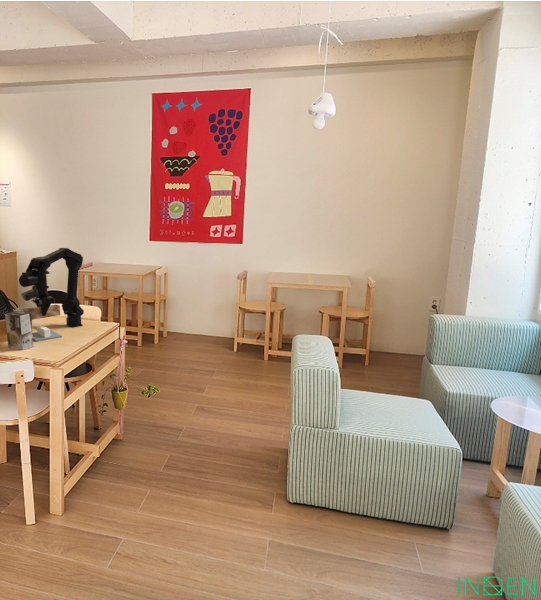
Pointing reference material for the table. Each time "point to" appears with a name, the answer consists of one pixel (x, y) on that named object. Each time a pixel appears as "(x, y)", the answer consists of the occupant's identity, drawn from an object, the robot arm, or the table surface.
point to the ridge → (44, 334)
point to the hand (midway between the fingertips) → (42, 315)
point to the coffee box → (19, 330)
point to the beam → (37, 313)
